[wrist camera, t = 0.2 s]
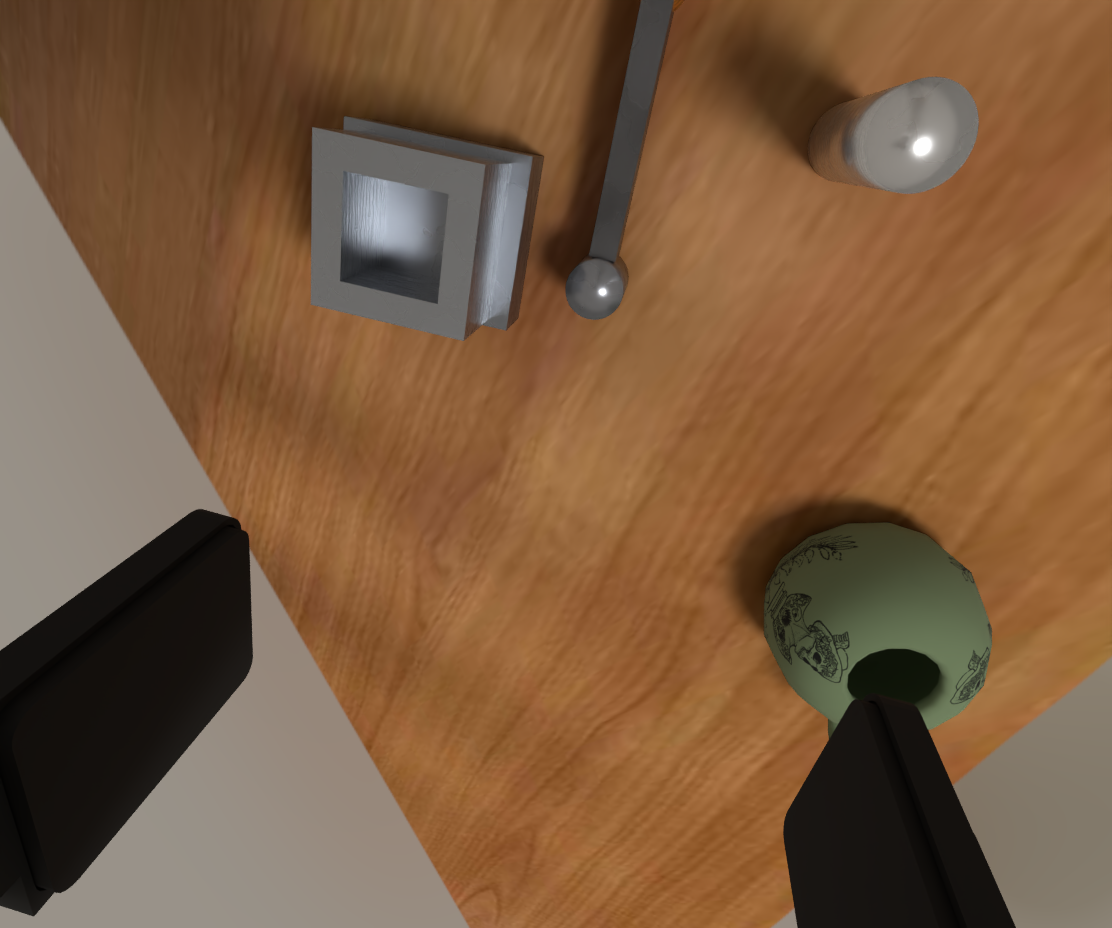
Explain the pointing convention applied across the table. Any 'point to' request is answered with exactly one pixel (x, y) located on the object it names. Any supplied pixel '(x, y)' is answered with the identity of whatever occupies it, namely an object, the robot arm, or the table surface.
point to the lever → (622, 167)
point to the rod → (897, 137)
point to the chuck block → (420, 227)
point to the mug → (877, 622)
